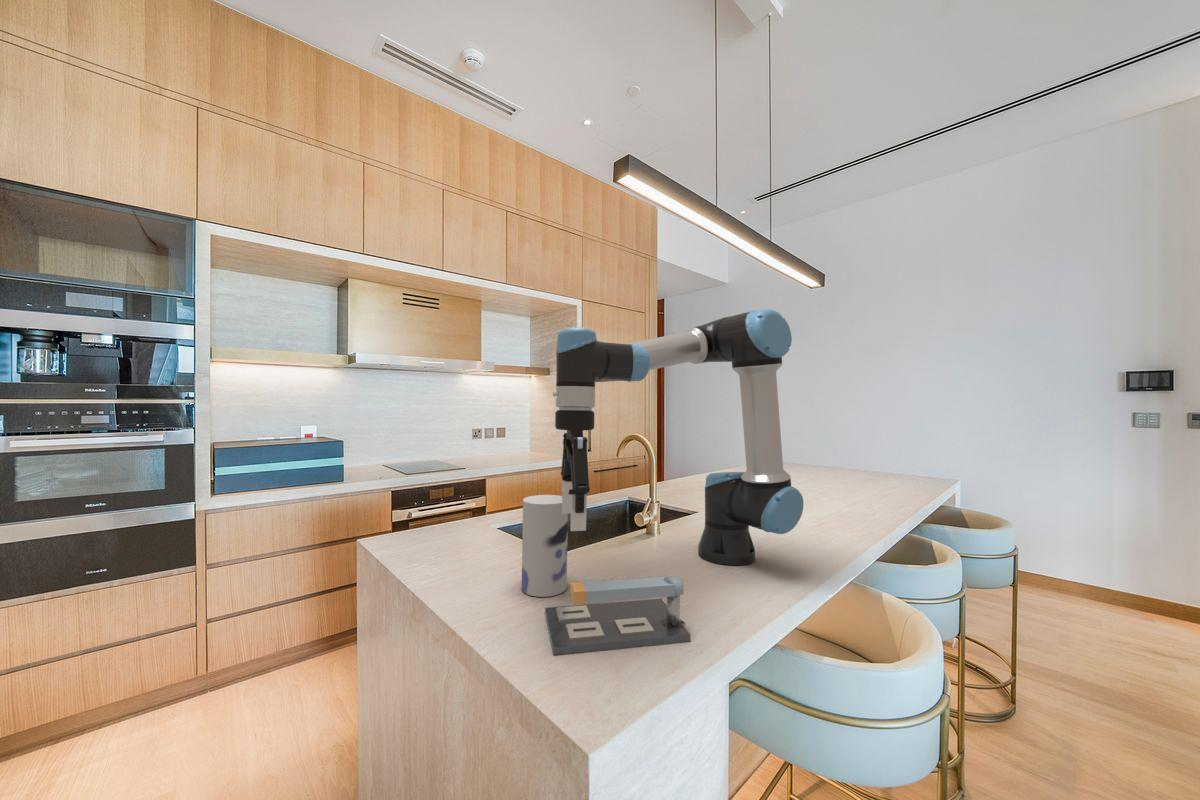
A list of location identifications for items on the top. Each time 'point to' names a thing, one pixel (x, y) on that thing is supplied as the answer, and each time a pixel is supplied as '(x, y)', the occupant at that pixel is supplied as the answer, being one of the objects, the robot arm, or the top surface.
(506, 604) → the top surface
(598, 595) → the grey long bar
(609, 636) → the slotted grey board
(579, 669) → the top surface
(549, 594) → the container
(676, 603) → the post
